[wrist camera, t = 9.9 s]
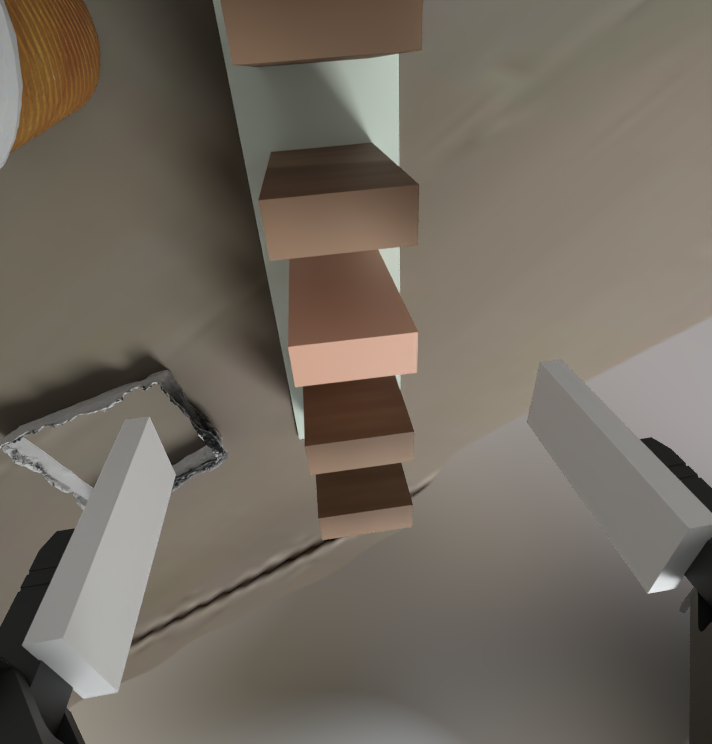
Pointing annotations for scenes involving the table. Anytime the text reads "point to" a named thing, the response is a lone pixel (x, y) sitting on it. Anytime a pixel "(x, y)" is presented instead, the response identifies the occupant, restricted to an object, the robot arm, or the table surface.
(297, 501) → the table surface
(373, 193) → the domino
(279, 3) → the domino
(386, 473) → the domino
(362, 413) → the domino
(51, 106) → the disposable coffee cup
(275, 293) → the runner
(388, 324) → the domino
